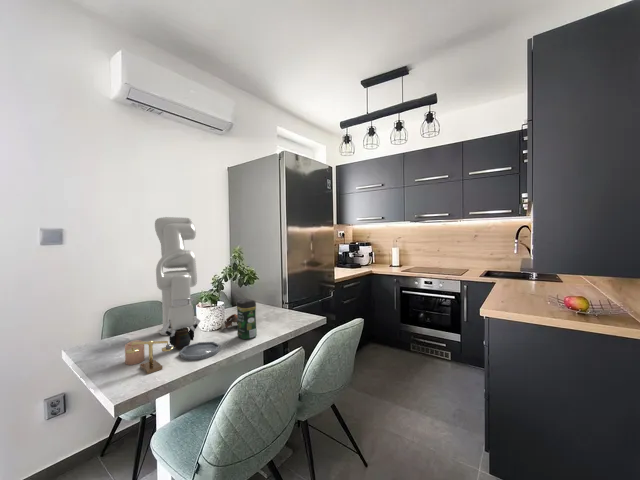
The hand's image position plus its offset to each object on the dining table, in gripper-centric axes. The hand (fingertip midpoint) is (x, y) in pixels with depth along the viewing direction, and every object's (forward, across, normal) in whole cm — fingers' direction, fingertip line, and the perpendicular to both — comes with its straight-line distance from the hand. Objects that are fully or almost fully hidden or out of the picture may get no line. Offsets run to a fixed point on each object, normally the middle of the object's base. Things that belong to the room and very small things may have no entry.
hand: (182, 342), depth 123 cm
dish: (+2, -2, +12) cm, 12 cm away
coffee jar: (+3, -26, +11) cm, 28 cm away
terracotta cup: (+2, +18, 0) cm, 18 cm away
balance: (+2, +16, +12) cm, 20 cm away
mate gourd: (+3, 0, 0) cm, 3 cm away
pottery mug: (+3, -30, -6) cm, 31 cm away
